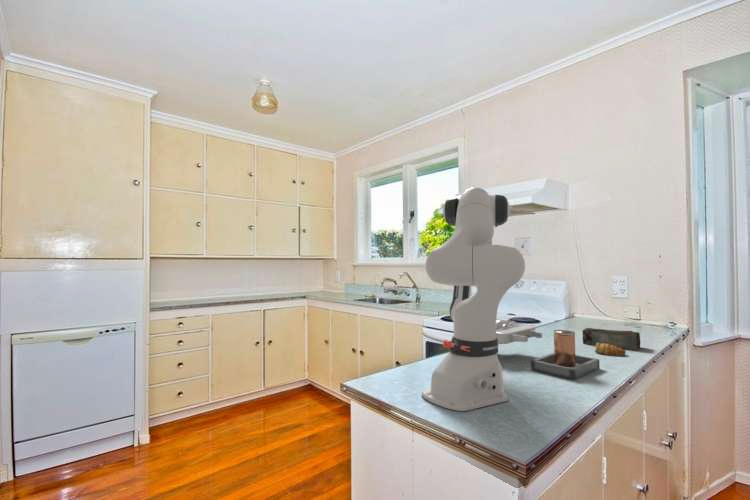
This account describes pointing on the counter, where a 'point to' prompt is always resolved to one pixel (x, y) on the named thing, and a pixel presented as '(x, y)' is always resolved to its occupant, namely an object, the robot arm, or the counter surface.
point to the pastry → (609, 349)
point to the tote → (581, 369)
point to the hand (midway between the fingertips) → (534, 337)
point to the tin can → (564, 348)
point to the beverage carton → (612, 338)
